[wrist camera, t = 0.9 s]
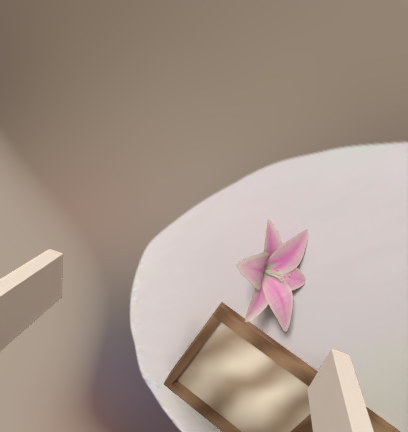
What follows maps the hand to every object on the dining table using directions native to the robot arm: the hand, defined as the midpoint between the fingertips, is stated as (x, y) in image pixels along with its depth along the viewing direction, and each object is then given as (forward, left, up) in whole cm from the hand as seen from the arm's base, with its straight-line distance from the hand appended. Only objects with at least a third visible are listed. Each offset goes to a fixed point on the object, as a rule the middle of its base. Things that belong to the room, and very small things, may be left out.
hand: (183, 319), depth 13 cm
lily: (-6, +3, -24) cm, 25 cm away
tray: (-18, +21, -24) cm, 37 cm away
